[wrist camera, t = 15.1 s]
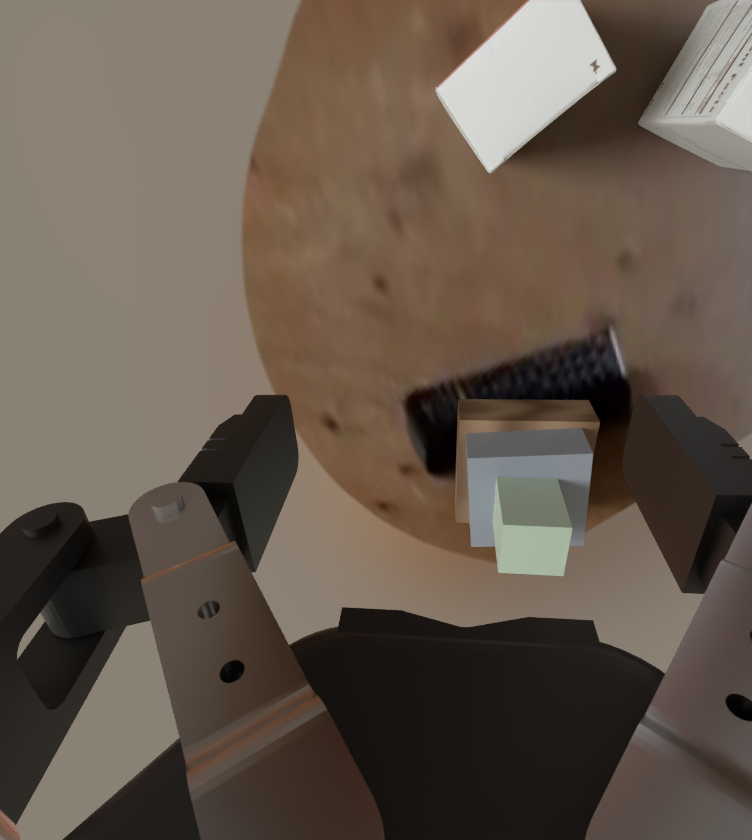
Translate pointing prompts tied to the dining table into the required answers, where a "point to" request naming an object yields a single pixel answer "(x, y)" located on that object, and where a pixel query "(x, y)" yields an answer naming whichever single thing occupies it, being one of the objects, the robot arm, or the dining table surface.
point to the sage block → (530, 526)
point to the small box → (524, 77)
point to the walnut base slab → (514, 429)
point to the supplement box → (710, 89)
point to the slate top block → (527, 473)
